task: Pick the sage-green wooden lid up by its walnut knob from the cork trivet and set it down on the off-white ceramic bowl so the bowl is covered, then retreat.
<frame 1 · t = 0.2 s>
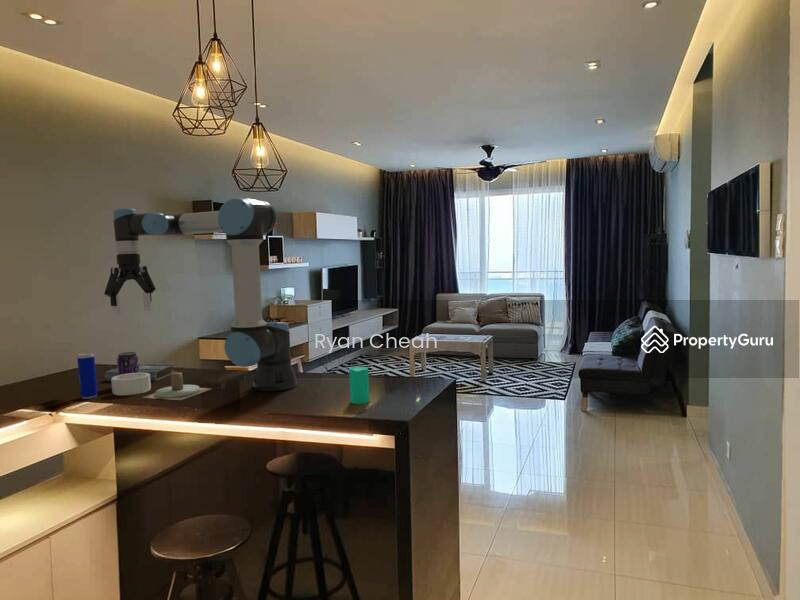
hand: (132, 313, 212), 27 cm above the table, fingers open, 13 cm apart
lid: (177, 392, 203), point 1 cm above the table, touching trivet
beverage can 2: (89, 397, 205), on the table
candle: (360, 401, 186), on the table
beverage can: (129, 385, 222), on the table
trivet: (178, 395, 203), on the table
bowl: (132, 393, 209), on the table
book: (142, 378, 237), on the table
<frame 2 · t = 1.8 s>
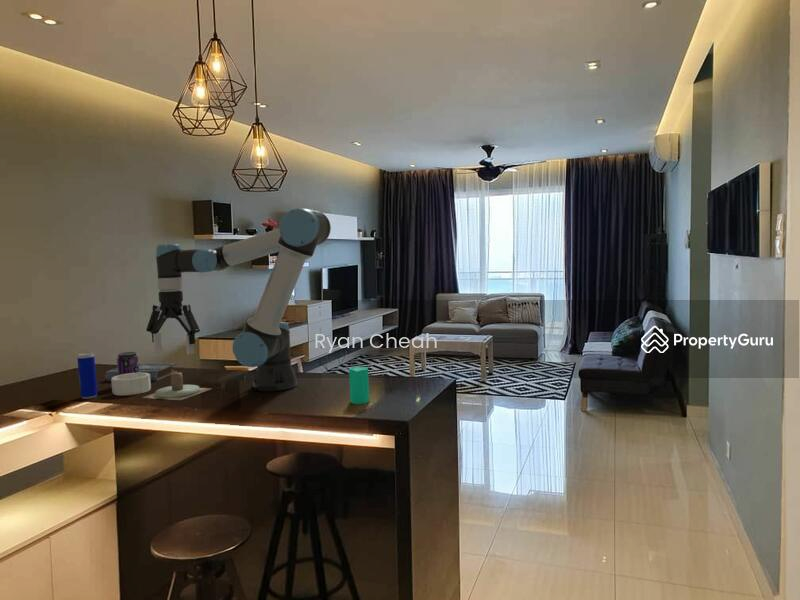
hand: (174, 353, 202), 14 cm above the table, fingers open, 13 cm apart
nothing on the table moved.
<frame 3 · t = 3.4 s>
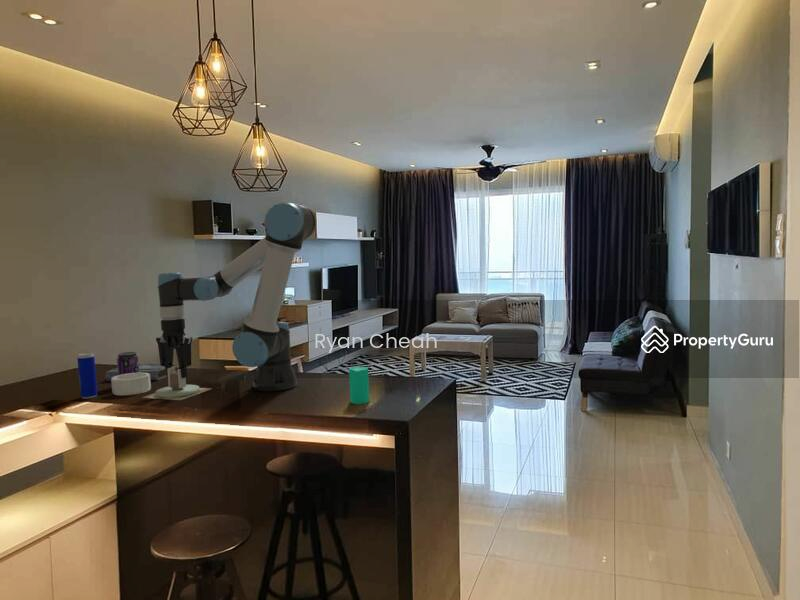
hand: (177, 386, 203), 3 cm above the table, fingers closed on lid, 4 cm apart
lid: (177, 392, 203), point 1 cm above the table, touching gripper, trivet
everything else where it was.
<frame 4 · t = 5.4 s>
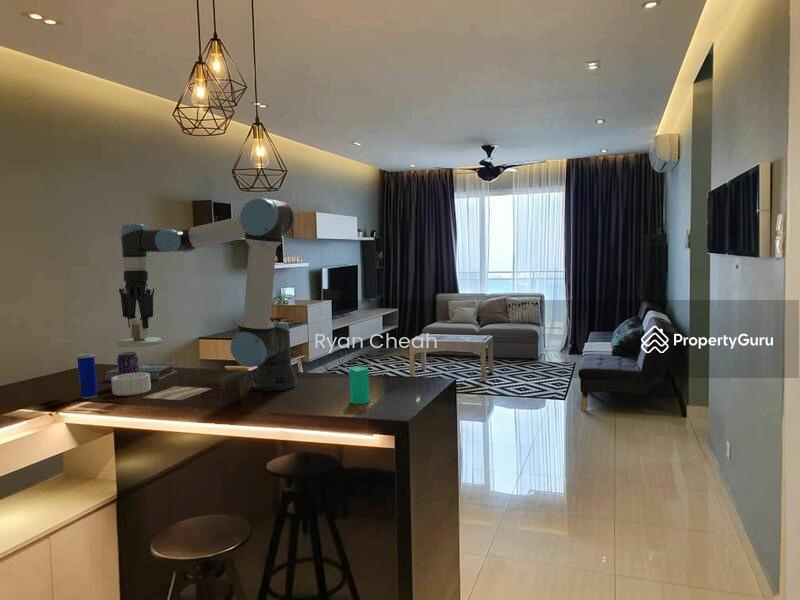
hand: (139, 337, 206), 20 cm above the table, fingers closed on lid, 4 cm apart
lid: (139, 343, 206), point 18 cm above the table, touching gripper
everything else where it was.
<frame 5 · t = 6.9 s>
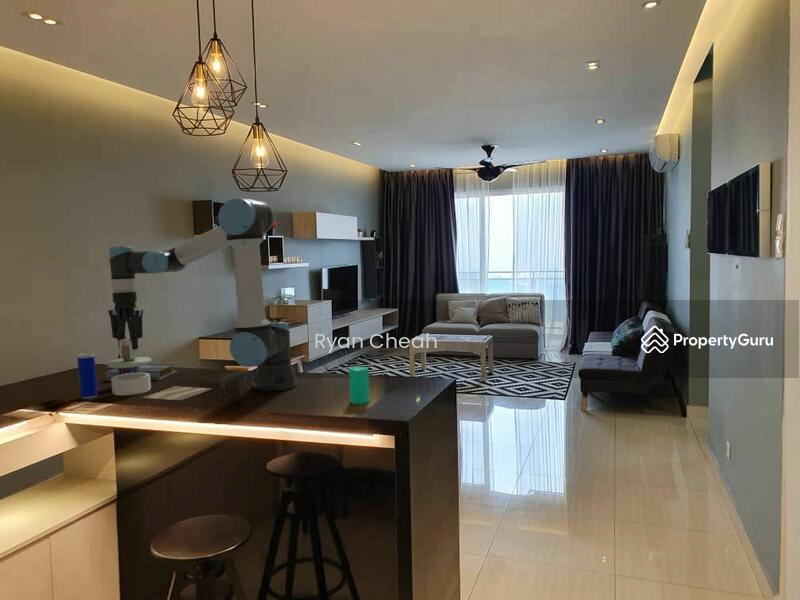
hand: (129, 358, 208), 12 cm above the table, fingers closed on lid, 4 cm apart
lid: (129, 364, 208), point 10 cm above the table, touching gripper
everything else where it was.
when the fingers open (10 cm above the table, at t = 7.6 s): lid drops 2 cm, resting on bowl.
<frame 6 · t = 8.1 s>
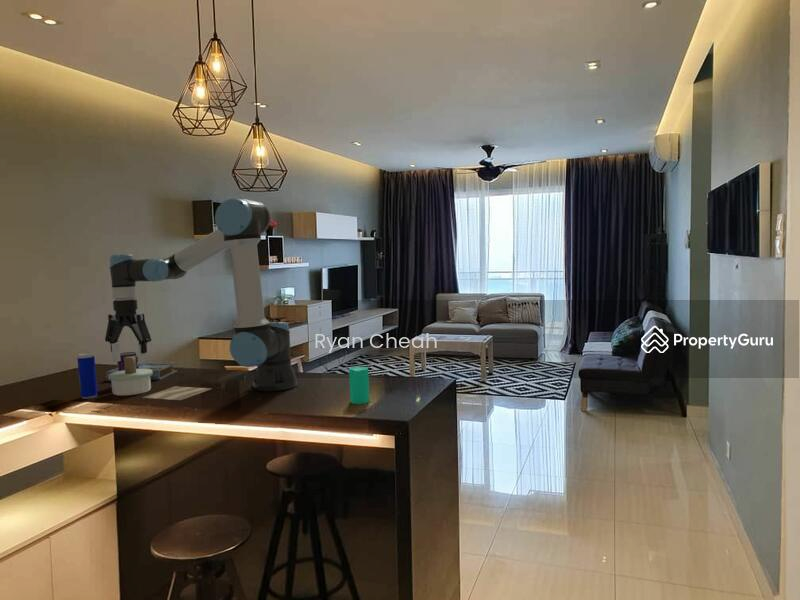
hand: (129, 362, 208), 11 cm above the table, fingers open, 11 cm apart
lid: (130, 376, 208), point 6 cm above the table, touching bowl
everything else where it was.
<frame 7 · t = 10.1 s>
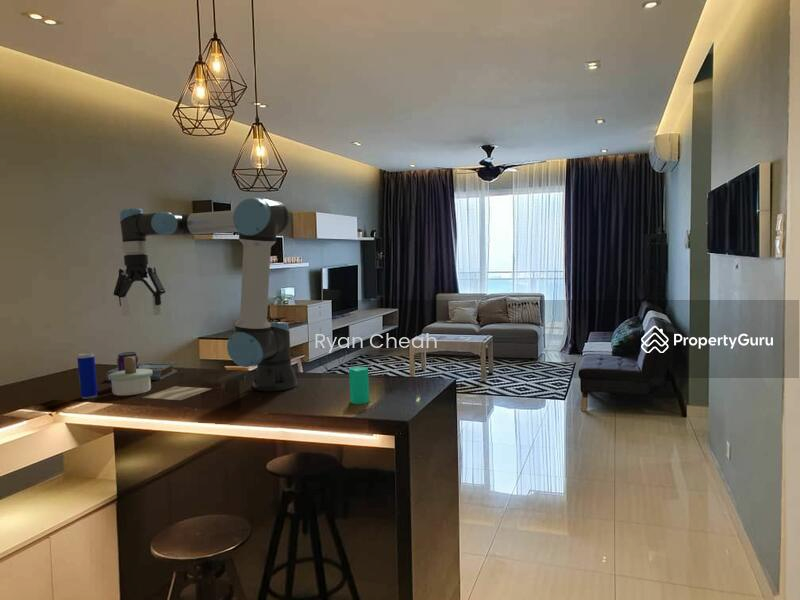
hand: (141, 315, 208), 27 cm above the table, fingers open, 13 cm apart
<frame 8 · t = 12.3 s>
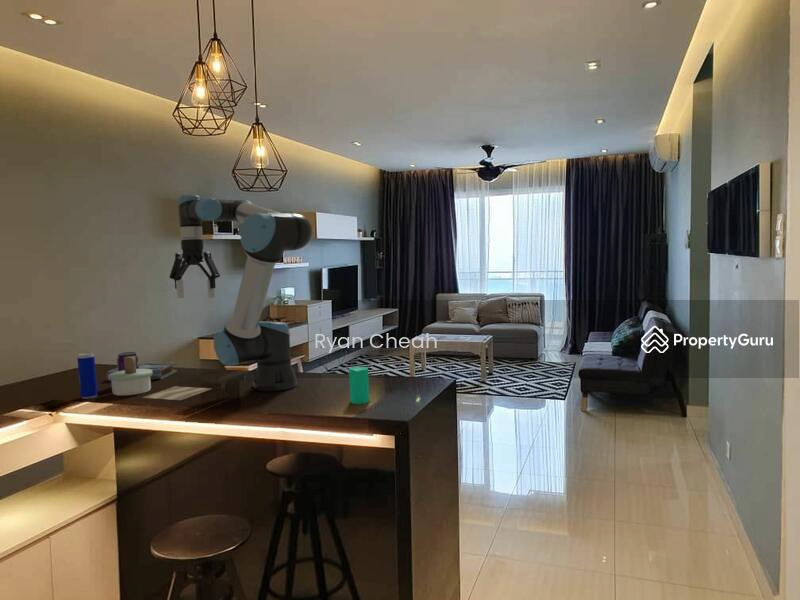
hand: (195, 298, 216), 32 cm above the table, fingers open, 13 cm apart
at the end: lid 0.1 cm off-centre on the bowl, point 6.0 cm above the bowl's base; lid tilted 0°; the gripper is holding nothing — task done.
